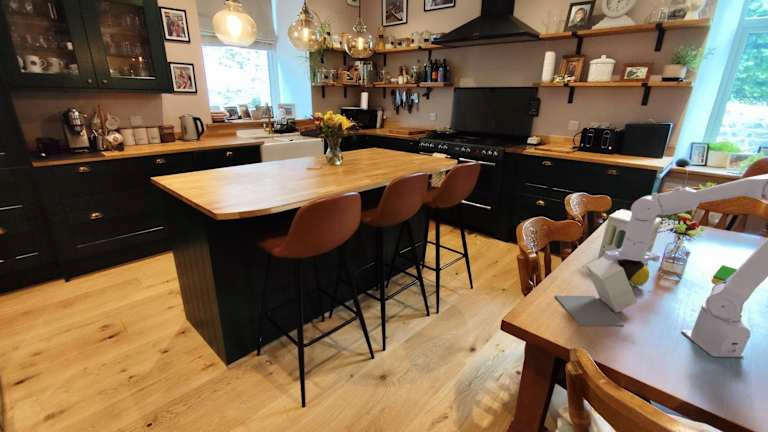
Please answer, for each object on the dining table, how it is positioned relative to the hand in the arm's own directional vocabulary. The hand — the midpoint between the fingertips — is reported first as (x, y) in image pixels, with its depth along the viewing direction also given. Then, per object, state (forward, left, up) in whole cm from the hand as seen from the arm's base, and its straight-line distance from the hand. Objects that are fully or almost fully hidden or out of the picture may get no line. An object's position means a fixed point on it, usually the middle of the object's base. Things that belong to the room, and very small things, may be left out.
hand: (623, 282), depth 103 cm
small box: (0, 0, -6) cm, 6 cm away
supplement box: (+29, -21, -8) cm, 37 cm away
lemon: (+11, -13, -8) cm, 19 cm away
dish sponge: (+16, -50, -8) cm, 54 cm away
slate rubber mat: (-3, +11, -8) cm, 13 cm away
